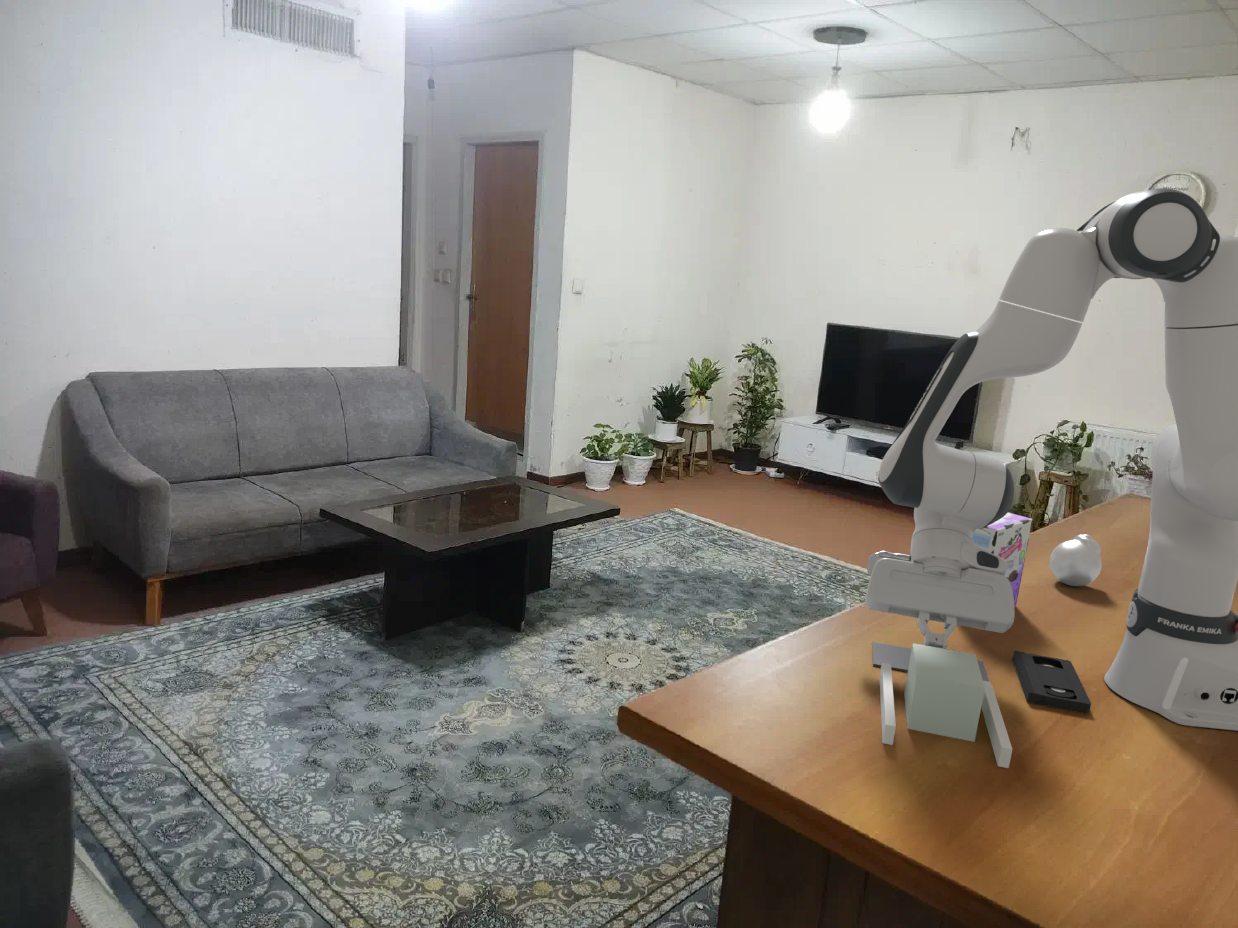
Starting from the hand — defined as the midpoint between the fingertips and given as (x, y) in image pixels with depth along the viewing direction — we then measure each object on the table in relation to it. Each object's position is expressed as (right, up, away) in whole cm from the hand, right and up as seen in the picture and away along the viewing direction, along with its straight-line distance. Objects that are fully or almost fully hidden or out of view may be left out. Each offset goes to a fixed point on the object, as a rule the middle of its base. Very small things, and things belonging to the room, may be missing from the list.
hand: (934, 647), depth 125 cm
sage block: (-3, -7, -9) cm, 12 cm away
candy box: (+19, 0, +30) cm, 35 cm away
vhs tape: (+17, -7, +3) cm, 19 cm away
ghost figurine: (+43, +2, +46) cm, 63 cm away
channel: (-2, -6, -4) cm, 8 cm away
